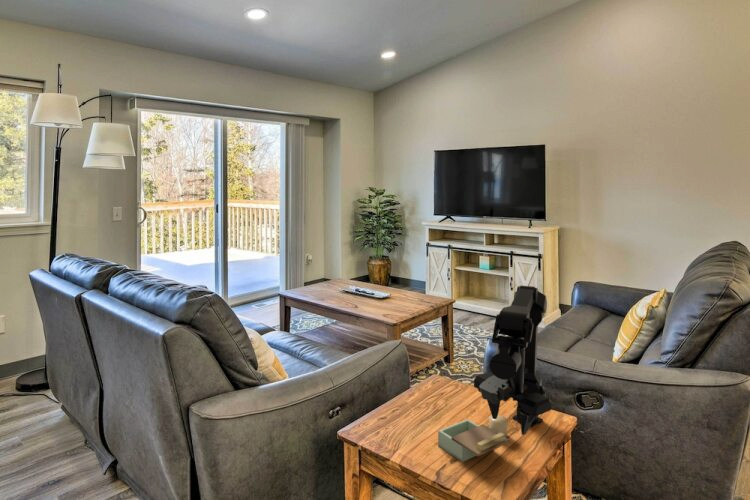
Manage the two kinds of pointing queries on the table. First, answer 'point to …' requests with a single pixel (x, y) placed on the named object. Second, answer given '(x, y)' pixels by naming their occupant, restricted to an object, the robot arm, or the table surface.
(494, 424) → the dome-topped beige cylinder
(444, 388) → the table surface
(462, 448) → the box body
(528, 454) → the table surface
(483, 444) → the lid
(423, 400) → the table surface
